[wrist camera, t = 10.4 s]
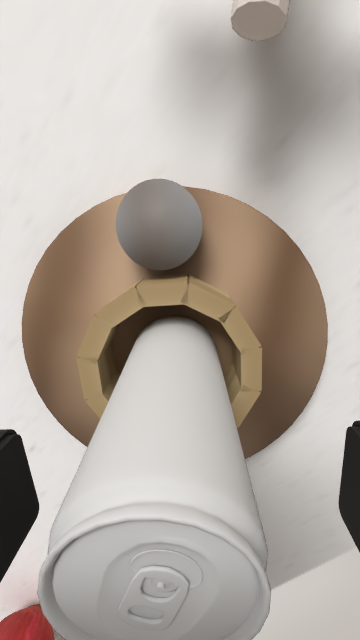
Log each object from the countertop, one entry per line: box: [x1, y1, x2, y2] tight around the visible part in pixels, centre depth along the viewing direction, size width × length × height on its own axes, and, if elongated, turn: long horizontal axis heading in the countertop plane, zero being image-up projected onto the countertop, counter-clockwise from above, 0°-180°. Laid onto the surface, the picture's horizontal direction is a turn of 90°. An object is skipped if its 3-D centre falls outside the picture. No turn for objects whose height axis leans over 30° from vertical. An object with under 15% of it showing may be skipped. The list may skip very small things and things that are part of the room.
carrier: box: [22, 179, 328, 459], centre depth 16 cm, size 18×18×4 cm
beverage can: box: [37, 316, 271, 640], centre depth 11 cm, size 5×5×12 cm
